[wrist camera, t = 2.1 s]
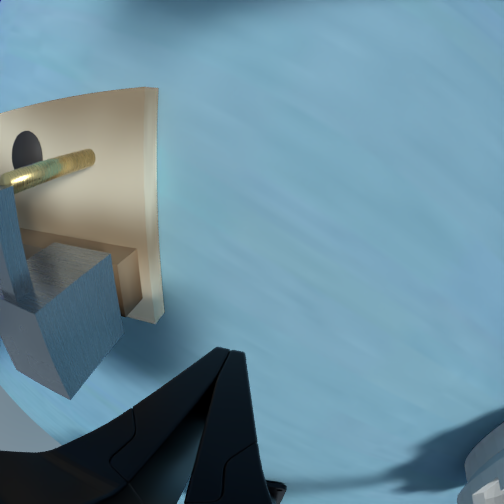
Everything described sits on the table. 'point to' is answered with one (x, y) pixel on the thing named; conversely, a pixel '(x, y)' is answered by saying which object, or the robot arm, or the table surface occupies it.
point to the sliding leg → (54, 292)
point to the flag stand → (485, 471)
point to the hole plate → (94, 185)
